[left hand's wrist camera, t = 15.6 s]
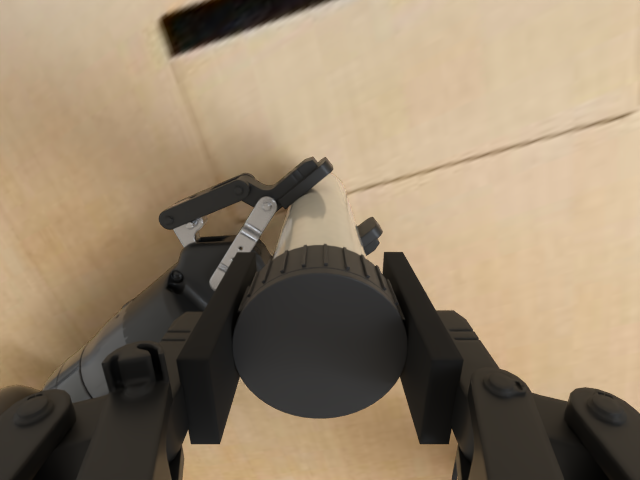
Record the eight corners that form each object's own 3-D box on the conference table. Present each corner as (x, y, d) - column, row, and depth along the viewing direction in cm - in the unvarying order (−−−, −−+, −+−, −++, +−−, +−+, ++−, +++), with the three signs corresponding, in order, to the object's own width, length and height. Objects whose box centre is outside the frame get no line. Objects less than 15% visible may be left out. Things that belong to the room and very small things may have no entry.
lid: (406, 246, 12) (424, 276, 10) (385, 377, 14) (397, 424, 12) (242, 237, 12) (226, 264, 10) (244, 370, 13) (231, 417, 11)
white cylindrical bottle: (327, 232, 30) (339, 410, 12) (282, 205, 29) (227, 355, 11) (357, 189, 28) (416, 319, 11) (310, 159, 27) (295, 251, 10)
